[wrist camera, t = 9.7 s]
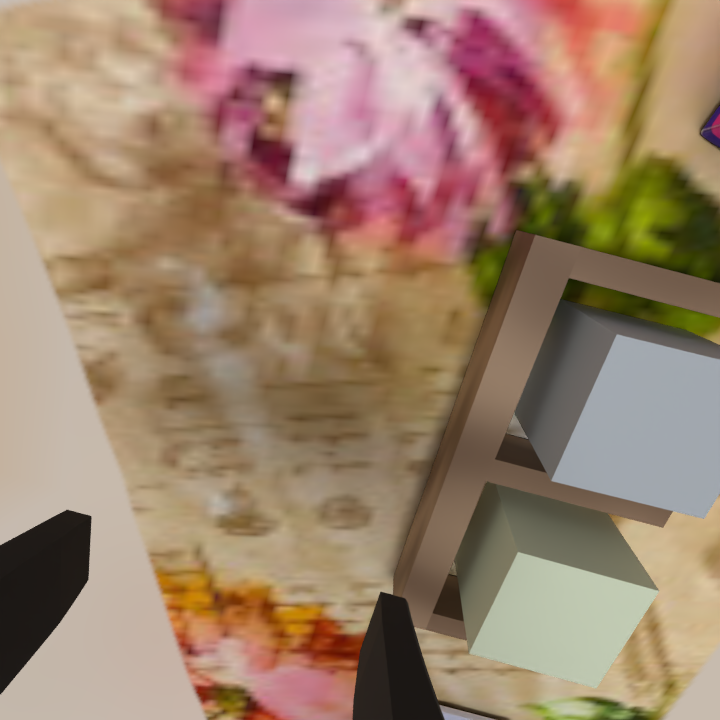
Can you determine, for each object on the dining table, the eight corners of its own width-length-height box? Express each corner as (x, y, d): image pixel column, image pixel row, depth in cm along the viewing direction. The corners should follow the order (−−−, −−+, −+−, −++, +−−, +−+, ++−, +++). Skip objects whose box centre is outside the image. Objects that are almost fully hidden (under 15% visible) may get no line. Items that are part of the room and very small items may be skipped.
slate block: (629, 440, 19) (704, 518, 14) (513, 412, 19) (551, 480, 14) (685, 329, 17) (790, 377, 13) (558, 298, 17) (616, 334, 13)
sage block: (554, 583, 22) (596, 688, 17) (454, 556, 22) (469, 653, 17) (599, 500, 20) (659, 591, 15) (490, 470, 20) (518, 551, 15)
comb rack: (559, 620, 22) (578, 669, 20) (393, 577, 22) (392, 621, 20) (740, 289, 17) (796, 303, 14) (516, 230, 17) (535, 234, 14)
